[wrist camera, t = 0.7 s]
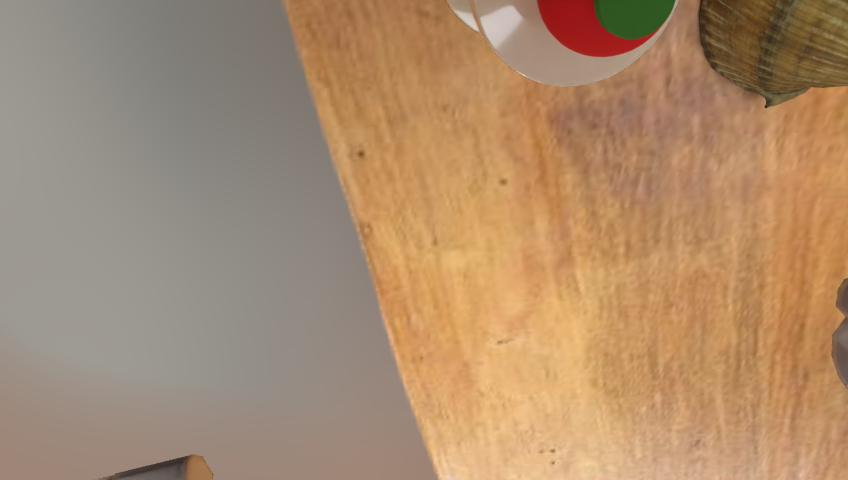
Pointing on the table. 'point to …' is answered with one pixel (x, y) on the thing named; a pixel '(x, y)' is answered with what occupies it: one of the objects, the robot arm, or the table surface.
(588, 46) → the strawberry
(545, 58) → the stand
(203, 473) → the robot arm
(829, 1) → the seashell
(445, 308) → the table surface
